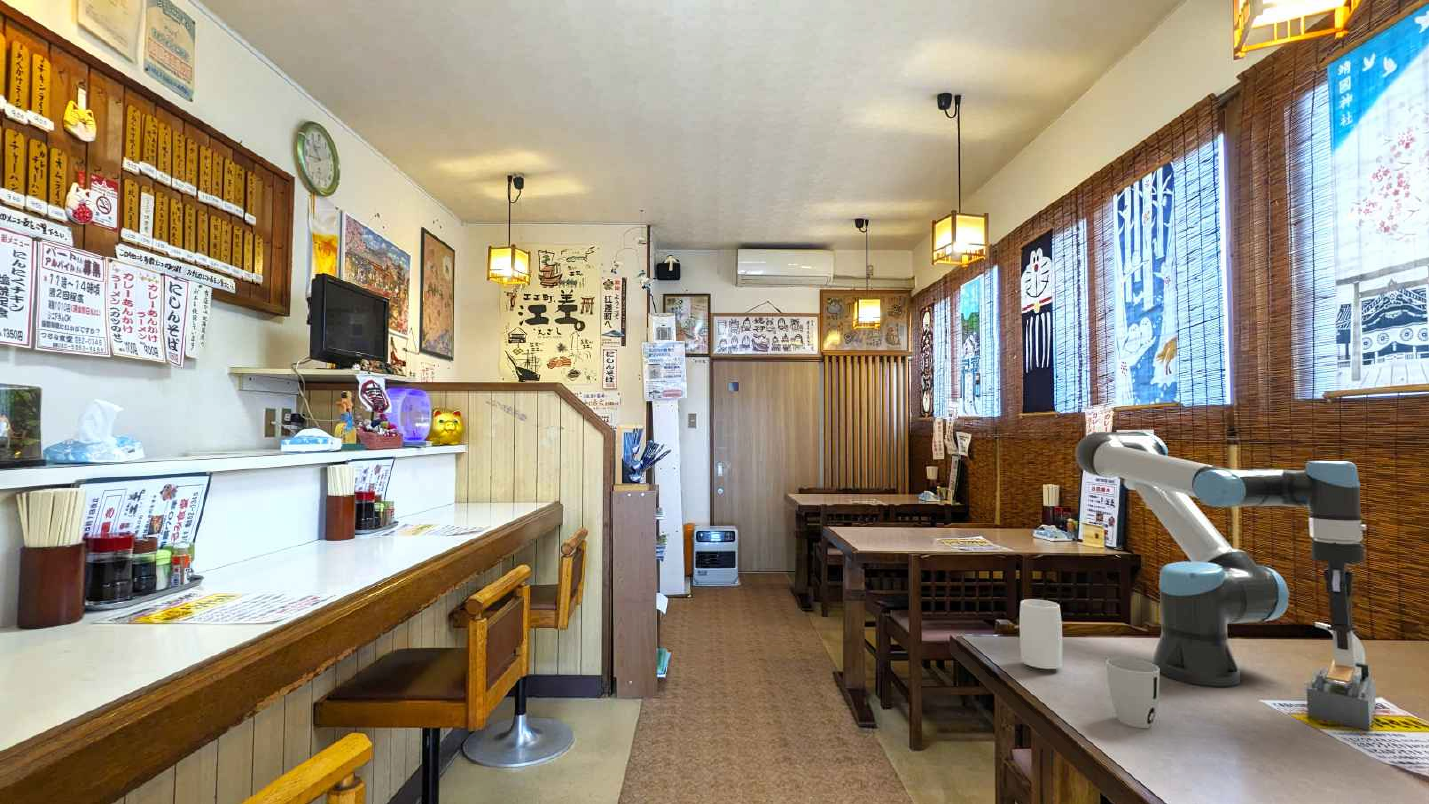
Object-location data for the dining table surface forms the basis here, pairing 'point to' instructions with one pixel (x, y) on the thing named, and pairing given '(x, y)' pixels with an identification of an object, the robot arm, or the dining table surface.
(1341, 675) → the tan flat bar
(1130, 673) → the cup
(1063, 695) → the dining table surface
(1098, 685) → the dining table surface
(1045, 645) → the cup
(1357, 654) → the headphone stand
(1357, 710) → the block
